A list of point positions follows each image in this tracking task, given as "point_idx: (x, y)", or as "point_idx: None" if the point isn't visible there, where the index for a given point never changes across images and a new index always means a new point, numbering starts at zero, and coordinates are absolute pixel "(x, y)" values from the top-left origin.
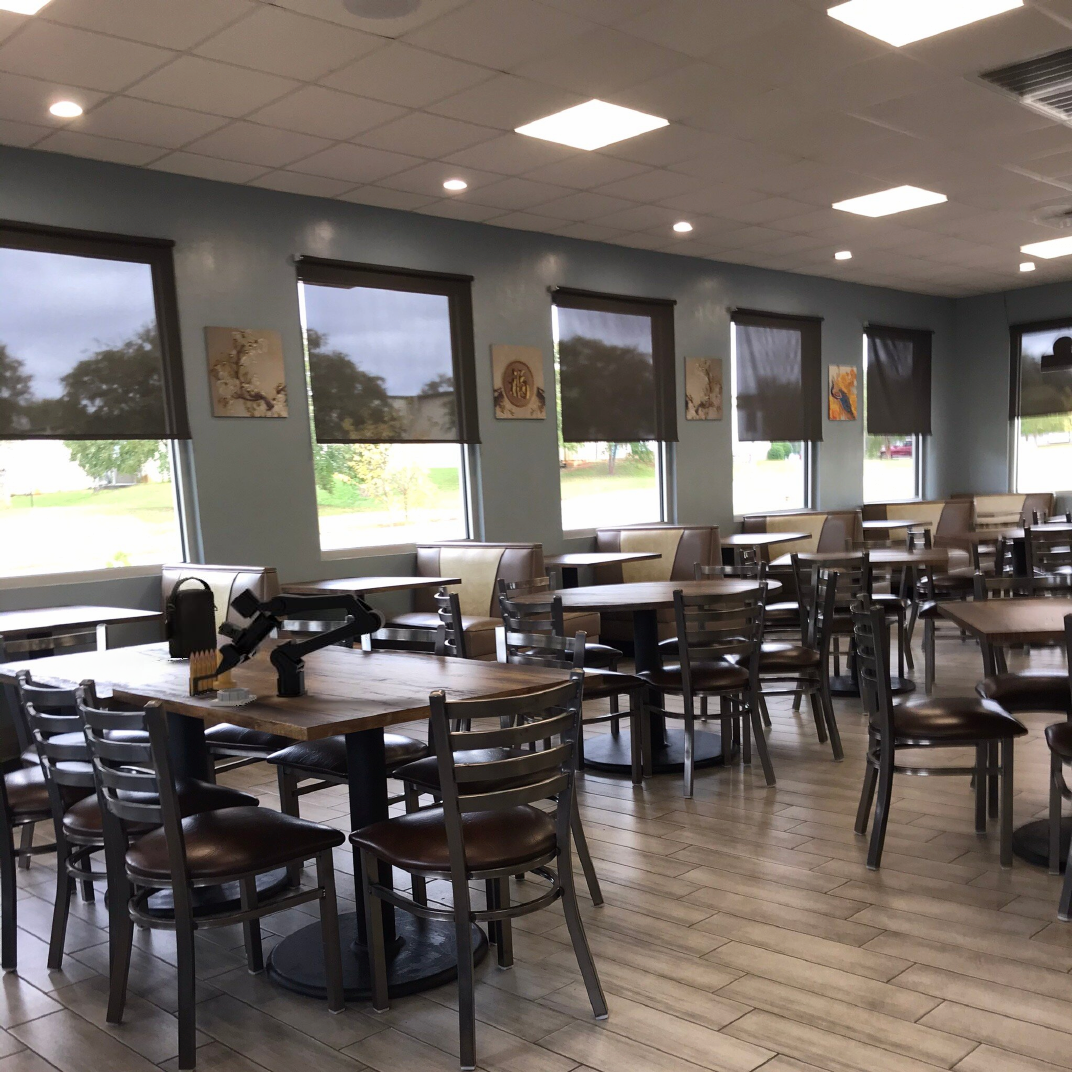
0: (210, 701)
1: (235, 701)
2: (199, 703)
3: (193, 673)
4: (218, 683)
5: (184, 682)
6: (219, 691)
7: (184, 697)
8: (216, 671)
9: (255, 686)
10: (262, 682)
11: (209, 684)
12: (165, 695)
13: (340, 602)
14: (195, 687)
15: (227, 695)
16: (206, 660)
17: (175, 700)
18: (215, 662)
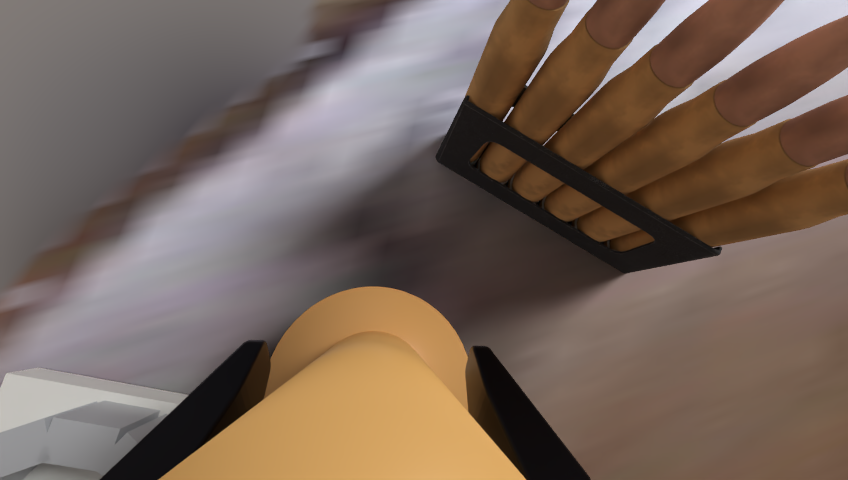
0: (8, 374)
1: None
2: (174, 259)
3: (481, 76)
4: (317, 348)
5: (823, 16)
6: (26, 444)
7: (411, 115)
8: (225, 366)
9: (713, 461)
10: (840, 462)
11: (563, 206)
12: (491, 6)
13: None
14: (457, 144)
15: None
16: (711, 102)
17: (327, 89)
18: (783, 186)
